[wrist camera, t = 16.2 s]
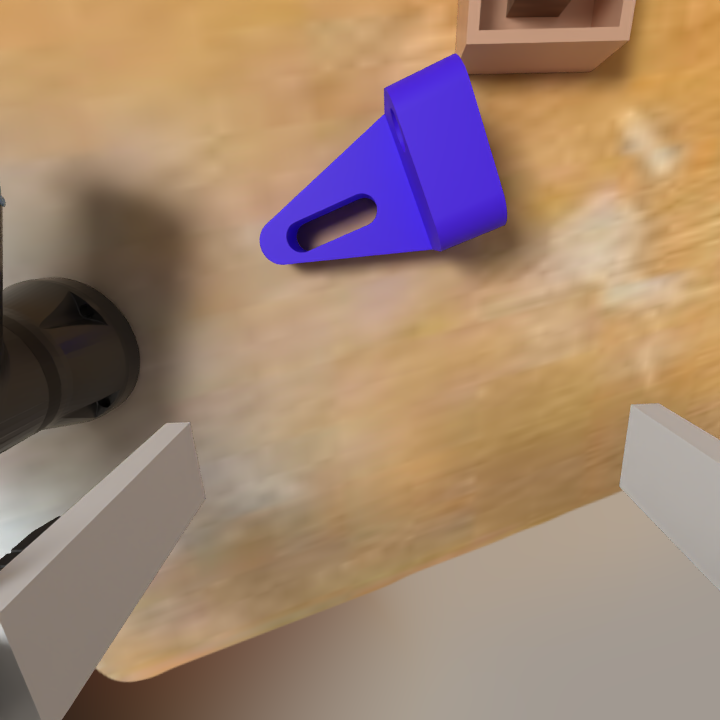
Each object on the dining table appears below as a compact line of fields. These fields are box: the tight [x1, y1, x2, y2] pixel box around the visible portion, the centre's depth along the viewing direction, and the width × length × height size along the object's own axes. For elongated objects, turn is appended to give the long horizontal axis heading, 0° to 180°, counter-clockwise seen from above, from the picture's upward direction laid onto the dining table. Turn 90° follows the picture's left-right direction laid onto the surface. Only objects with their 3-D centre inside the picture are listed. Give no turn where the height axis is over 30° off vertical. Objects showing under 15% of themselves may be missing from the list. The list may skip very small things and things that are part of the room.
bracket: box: [260, 54, 507, 265], centre depth 32 cm, size 18×11×12 cm, turn 113°
